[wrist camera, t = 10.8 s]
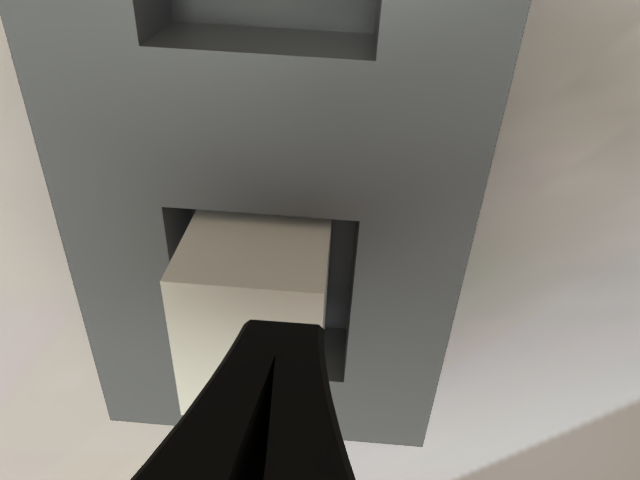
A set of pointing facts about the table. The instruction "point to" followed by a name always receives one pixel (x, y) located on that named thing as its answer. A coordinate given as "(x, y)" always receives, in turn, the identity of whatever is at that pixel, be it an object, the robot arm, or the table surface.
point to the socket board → (271, 168)
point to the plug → (239, 285)
